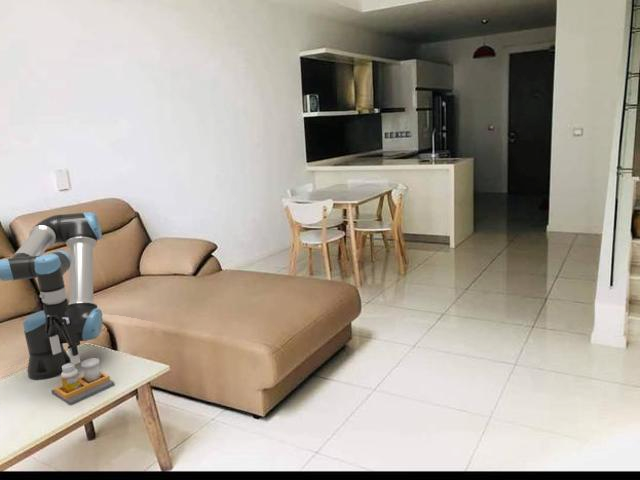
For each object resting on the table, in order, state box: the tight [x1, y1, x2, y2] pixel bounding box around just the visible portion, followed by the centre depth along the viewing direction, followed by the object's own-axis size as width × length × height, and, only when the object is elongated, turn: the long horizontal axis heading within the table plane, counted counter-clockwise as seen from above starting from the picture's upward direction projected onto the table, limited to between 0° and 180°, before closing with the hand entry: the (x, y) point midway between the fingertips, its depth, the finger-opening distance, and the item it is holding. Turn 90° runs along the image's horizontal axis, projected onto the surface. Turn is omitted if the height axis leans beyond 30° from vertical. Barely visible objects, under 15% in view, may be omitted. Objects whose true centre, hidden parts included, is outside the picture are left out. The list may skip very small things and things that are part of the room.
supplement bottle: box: [60, 363, 81, 393], centre depth 181 cm, size 5×5×10 cm
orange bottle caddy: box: [51, 357, 116, 406], centre depth 184 cm, size 14×16×9 cm
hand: (66, 358), depth 180 cm, fingers open, 13 cm apart
